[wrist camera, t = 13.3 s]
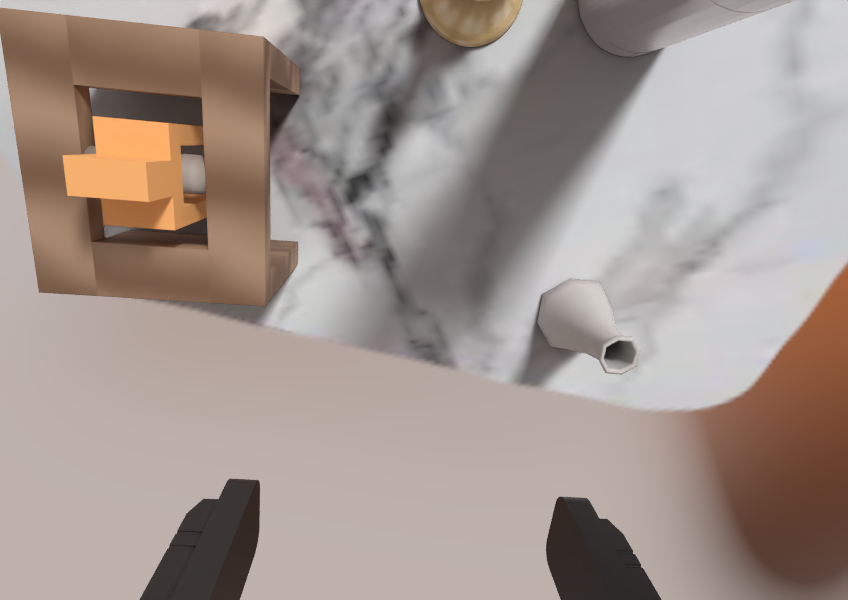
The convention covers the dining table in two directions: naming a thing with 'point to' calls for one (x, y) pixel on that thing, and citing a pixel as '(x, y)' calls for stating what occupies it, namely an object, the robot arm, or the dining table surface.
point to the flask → (586, 325)
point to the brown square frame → (202, 174)
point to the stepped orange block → (137, 173)
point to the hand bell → (471, 19)
